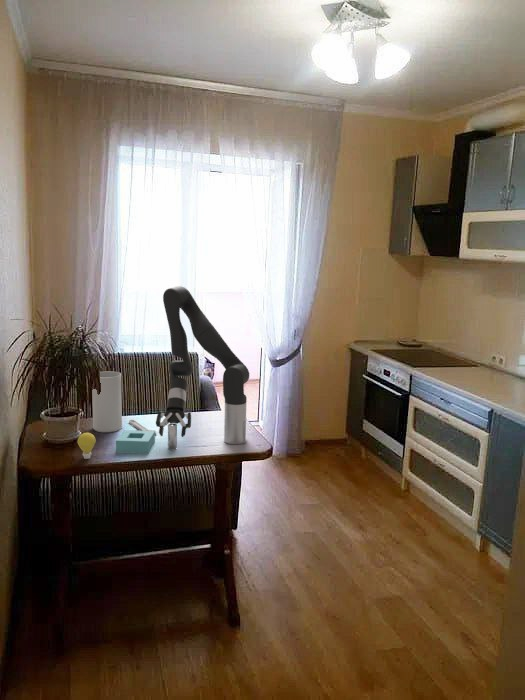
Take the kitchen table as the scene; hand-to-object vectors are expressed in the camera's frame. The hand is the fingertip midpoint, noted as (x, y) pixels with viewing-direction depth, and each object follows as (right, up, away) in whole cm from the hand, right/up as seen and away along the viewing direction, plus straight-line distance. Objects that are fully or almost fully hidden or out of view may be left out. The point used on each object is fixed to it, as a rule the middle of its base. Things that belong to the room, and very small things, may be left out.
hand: (171, 435), depth 229 cm
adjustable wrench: (-17, -1, +25) cm, 30 cm away
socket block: (-15, -5, +2) cm, 16 cm away
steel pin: (0, -5, +2) cm, 6 cm away
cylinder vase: (-33, -1, +24) cm, 41 cm away
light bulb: (-31, -7, -11) cm, 34 cm away
